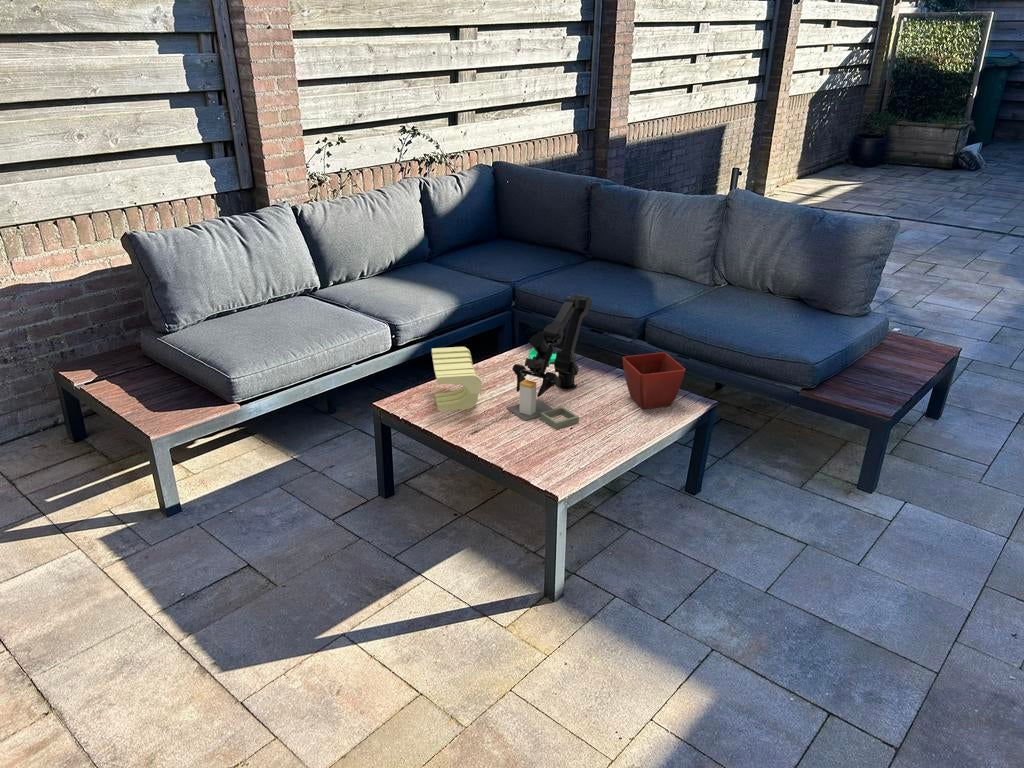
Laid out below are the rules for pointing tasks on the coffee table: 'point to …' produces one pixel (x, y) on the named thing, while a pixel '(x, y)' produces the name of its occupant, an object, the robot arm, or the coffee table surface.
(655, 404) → the plant pot
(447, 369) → the slatted curved stool
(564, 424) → the case bay
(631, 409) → the coffee table surface
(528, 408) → the block
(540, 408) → the rubber mat
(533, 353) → the camera mount
